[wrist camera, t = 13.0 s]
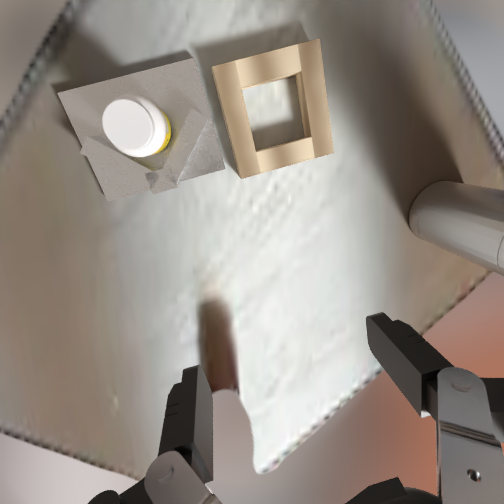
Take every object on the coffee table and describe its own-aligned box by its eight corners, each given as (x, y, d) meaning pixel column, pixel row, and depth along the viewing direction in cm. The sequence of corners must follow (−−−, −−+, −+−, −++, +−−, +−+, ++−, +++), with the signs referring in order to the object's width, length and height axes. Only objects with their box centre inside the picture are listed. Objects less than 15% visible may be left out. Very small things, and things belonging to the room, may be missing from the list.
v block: (194, 59, 31) (193, 50, 28) (225, 170, 36) (227, 173, 33) (61, 94, 30) (44, 89, 27) (111, 202, 35) (102, 208, 32)
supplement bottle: (136, 160, 33) (110, 167, 24) (114, 110, 31) (77, 98, 22) (180, 146, 33) (170, 148, 24) (161, 96, 31) (144, 78, 22)
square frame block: (311, 45, 32) (319, 38, 30) (325, 151, 37) (333, 152, 35) (211, 71, 32) (212, 66, 29) (239, 176, 36) (241, 178, 34)
